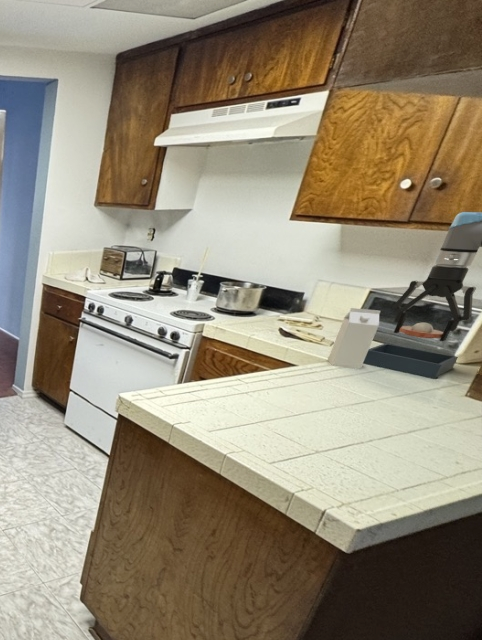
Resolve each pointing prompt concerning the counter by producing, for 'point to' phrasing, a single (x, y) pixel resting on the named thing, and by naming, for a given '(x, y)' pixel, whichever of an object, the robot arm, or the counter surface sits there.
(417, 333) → the rice plate
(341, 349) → the milk carton
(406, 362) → the dish tub
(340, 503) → the counter surface
